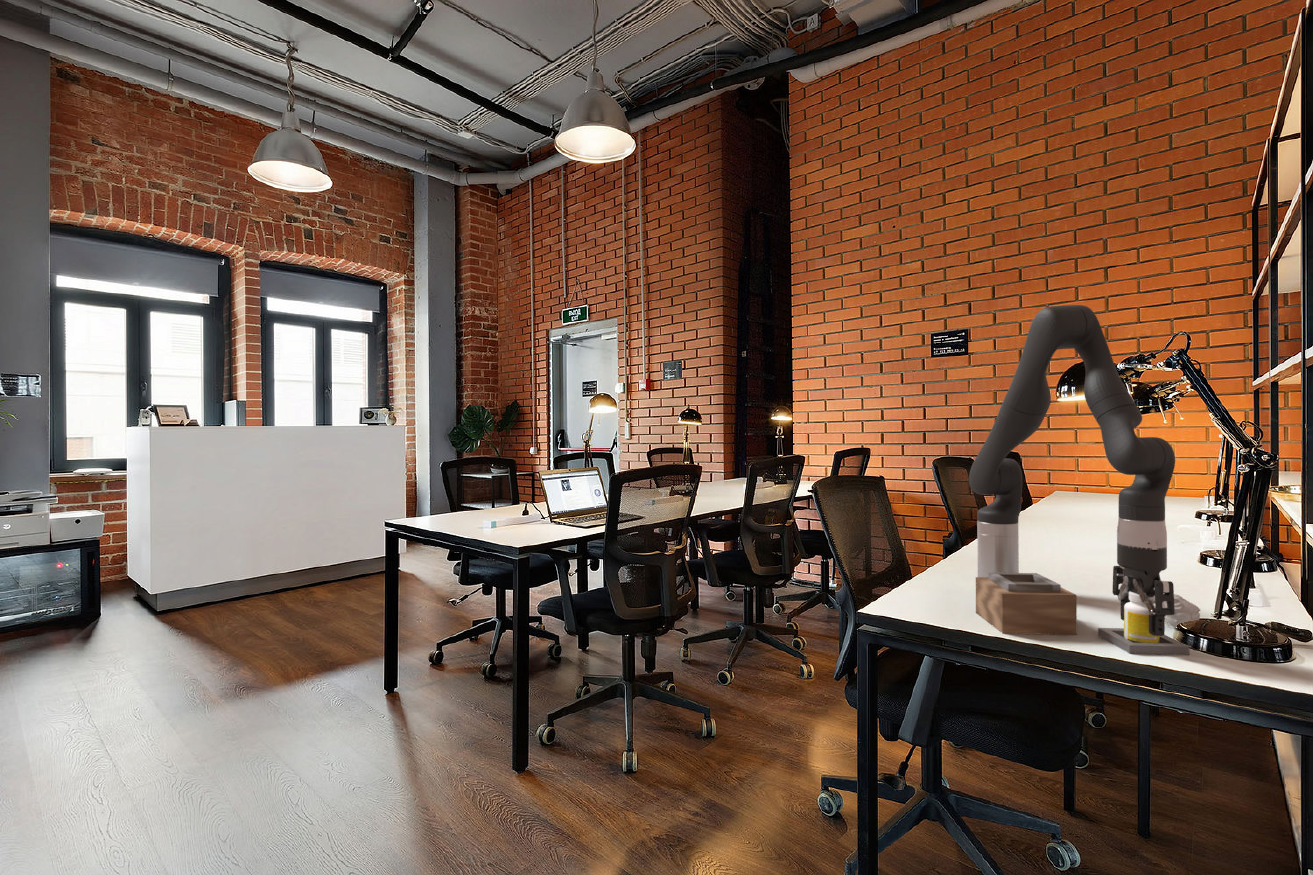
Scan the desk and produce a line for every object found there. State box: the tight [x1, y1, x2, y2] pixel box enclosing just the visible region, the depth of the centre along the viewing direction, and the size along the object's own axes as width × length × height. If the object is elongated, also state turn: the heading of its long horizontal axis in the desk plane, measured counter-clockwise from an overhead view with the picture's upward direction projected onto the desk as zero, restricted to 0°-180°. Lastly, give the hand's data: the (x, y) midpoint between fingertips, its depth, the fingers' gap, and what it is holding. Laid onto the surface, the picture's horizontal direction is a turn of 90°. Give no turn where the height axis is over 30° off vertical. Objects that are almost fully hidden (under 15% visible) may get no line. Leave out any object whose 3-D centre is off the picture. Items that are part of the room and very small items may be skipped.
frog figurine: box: [1164, 593, 1201, 629], centre depth 129 cm, size 6×7×7 cm
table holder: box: [1097, 627, 1190, 656], centre depth 120 cm, size 10×10×2 cm
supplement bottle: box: [1123, 591, 1160, 643], centre depth 120 cm, size 5×5×10 cm
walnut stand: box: [975, 572, 1078, 636], centre depth 134 cm, size 14×14×10 cm
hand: (1141, 627), depth 120 cm, fingers open, 8 cm apart
